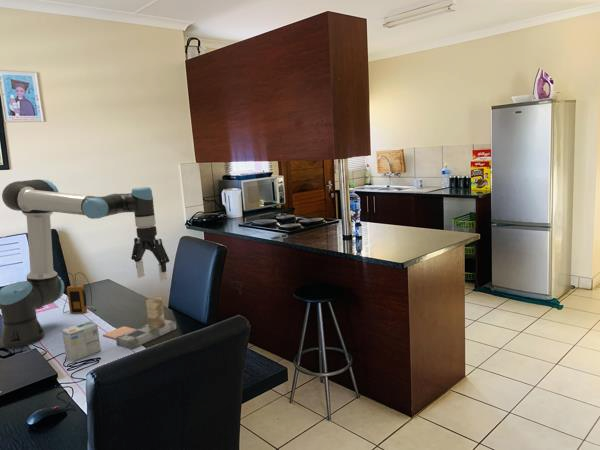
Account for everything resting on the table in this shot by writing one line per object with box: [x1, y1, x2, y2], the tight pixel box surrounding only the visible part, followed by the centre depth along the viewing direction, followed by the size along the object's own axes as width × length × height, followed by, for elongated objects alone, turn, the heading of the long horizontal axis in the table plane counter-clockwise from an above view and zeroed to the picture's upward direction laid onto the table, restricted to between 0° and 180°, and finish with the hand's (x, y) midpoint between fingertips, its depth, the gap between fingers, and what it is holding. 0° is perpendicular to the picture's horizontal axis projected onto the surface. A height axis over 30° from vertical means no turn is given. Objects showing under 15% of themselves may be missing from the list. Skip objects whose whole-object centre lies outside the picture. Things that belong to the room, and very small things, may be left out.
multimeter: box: [62, 272, 97, 314], centre depth 219 cm, size 15×10×20 cm
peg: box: [145, 296, 166, 328], centre depth 186 cm, size 4×4×14 cm
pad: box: [102, 325, 136, 341], centre depth 187 cm, size 10×10×1 cm
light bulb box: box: [61, 320, 102, 362], centre depth 169 cm, size 11×7×11 cm, turn 141°
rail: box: [115, 318, 177, 350], centre depth 182 cm, size 22×9×3 cm, turn 147°
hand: (152, 278), depth 183 cm, fingers open, 13 cm apart
